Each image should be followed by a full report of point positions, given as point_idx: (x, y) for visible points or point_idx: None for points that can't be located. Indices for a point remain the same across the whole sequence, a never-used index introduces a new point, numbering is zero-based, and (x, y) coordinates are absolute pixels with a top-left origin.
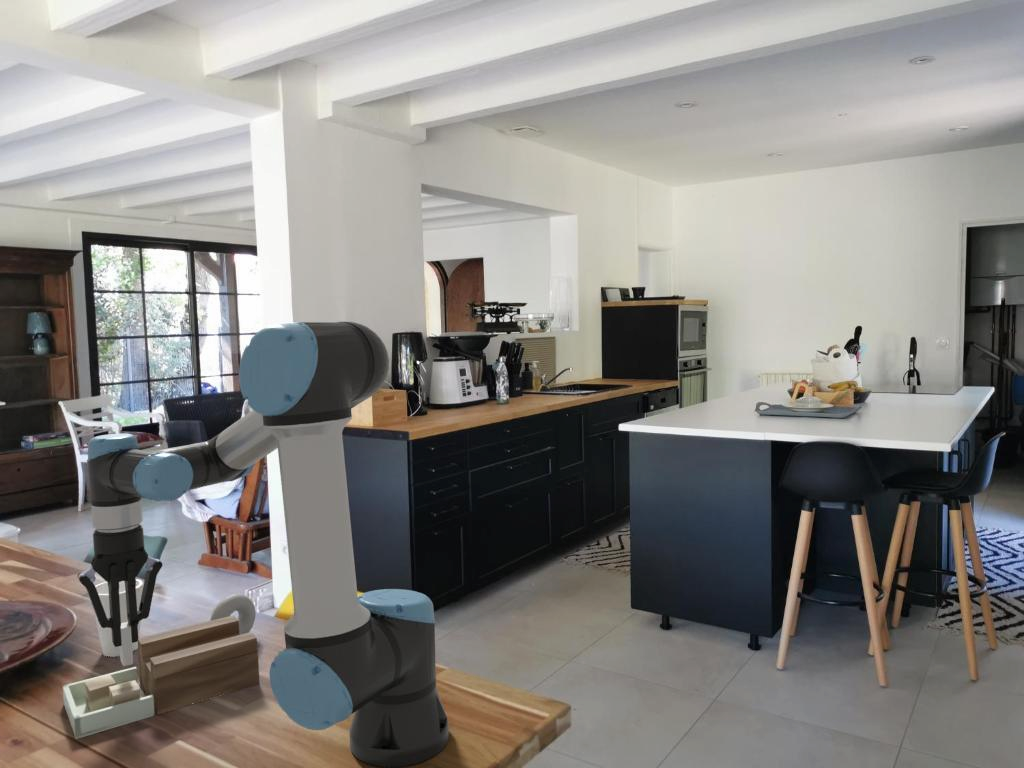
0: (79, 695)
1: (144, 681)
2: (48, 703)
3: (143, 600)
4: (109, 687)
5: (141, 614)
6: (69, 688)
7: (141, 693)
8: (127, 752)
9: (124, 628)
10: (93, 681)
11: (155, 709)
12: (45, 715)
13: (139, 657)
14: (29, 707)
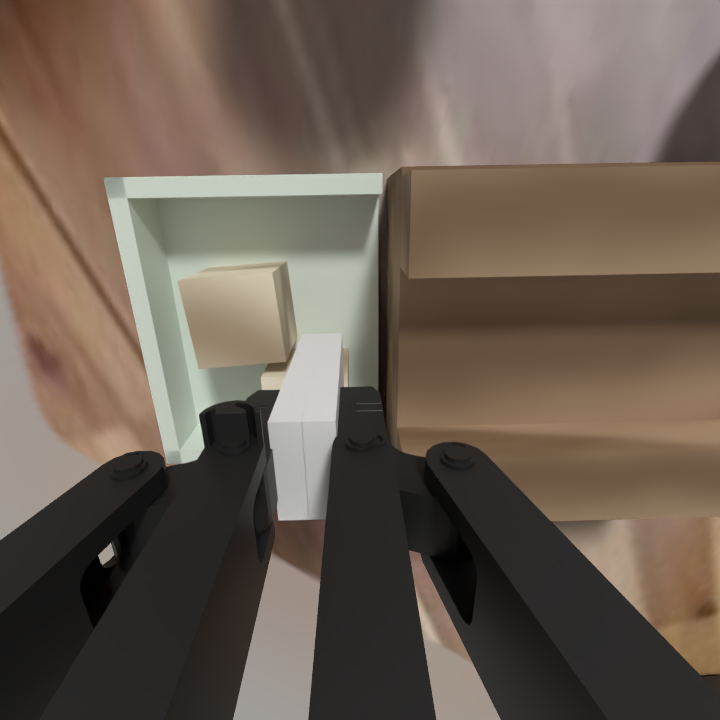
0: (184, 198)
1: (390, 276)
2: (89, 134)
3: (487, 661)
4: (262, 384)
5: (425, 564)
6: (135, 198)
7: (372, 295)
8: (295, 543)
9: (299, 519)
10: (210, 295)
11: (386, 405)
12: (94, 233)
13: (399, 204)
14: (27, 124)
